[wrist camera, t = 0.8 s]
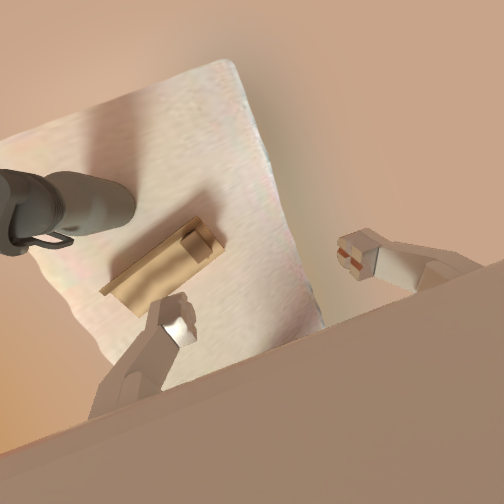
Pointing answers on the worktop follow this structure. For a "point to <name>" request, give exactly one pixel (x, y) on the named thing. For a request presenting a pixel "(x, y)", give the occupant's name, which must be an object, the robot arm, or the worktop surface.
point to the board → (161, 270)
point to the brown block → (196, 246)
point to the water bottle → (58, 208)
